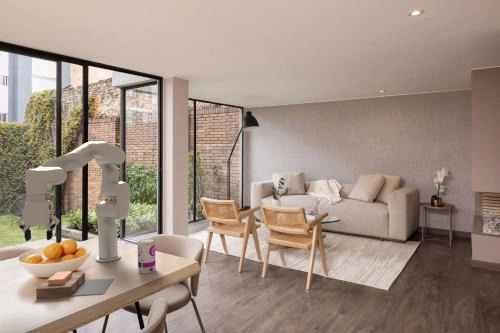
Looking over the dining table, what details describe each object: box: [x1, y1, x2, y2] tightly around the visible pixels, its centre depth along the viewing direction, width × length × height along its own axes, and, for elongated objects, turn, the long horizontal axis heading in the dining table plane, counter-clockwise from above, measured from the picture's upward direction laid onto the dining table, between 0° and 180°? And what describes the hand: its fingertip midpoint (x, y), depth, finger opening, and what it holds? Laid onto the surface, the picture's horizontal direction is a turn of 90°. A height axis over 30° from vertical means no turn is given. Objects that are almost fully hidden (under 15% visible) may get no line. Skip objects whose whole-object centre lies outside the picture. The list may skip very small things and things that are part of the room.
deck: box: [35, 271, 86, 299], centre depth 141 cm, size 16×13×4 cm
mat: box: [71, 278, 115, 297], centre depth 143 cm, size 16×12×1 cm
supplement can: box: [137, 238, 157, 275], centre depth 161 cm, size 8×8×15 cm
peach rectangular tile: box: [48, 270, 73, 285], centre depth 140 cm, size 9×6×2 cm, turn 8°
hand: (38, 239), depth 138 cm, fingers open, 7 cm apart
